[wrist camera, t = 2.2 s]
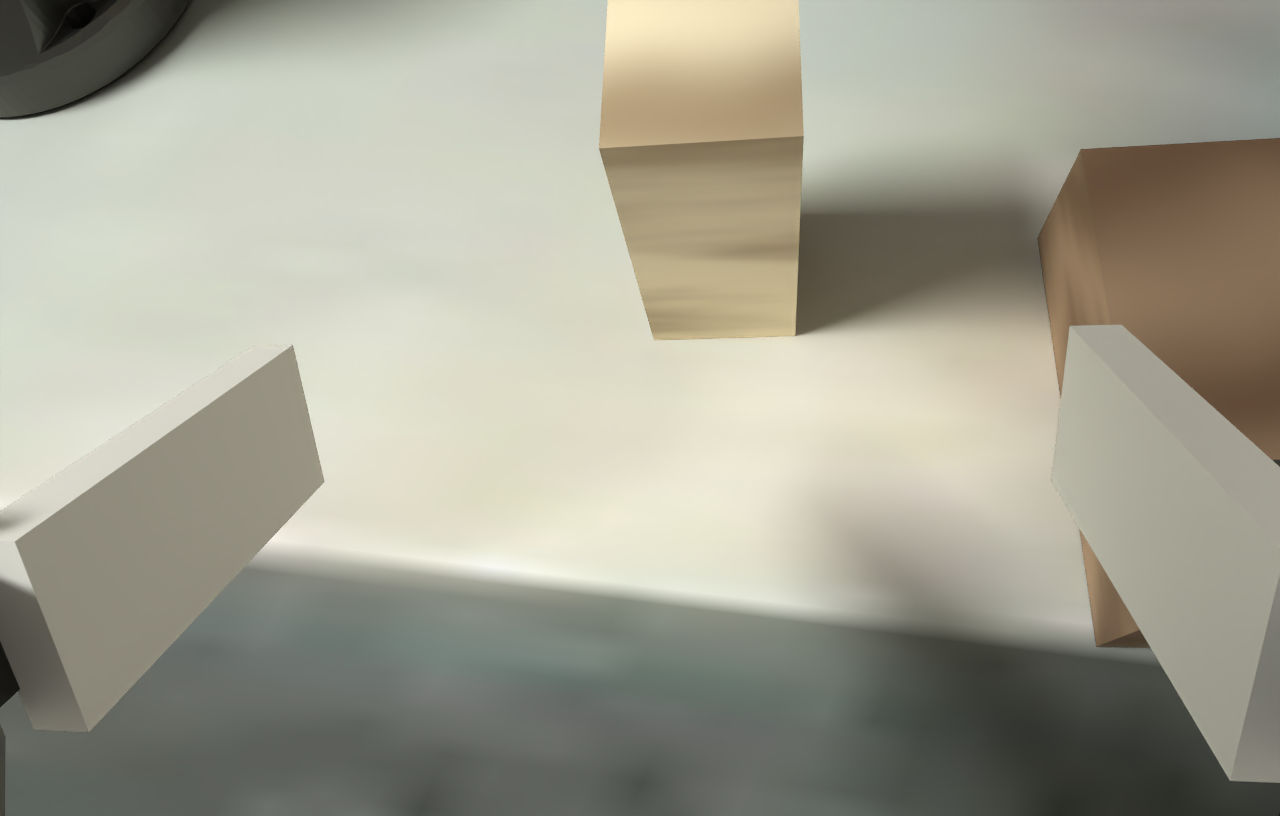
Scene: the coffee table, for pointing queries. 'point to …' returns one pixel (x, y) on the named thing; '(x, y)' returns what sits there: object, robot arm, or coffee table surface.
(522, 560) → the coffee table surface
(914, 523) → the coffee table surface
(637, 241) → the beech block
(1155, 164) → the walnut block
